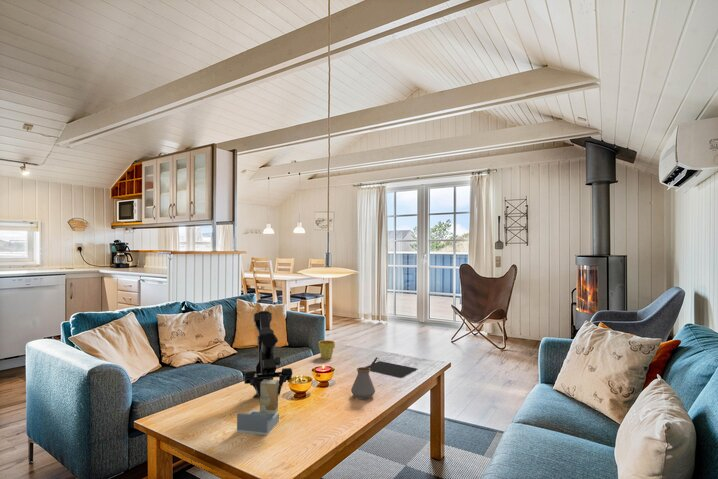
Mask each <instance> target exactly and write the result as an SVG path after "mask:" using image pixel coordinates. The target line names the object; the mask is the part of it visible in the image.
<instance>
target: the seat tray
mask: <svg viewBox="0 0 718 479" xmlns="http://www.w3.org/2000/svg"><path fill="white" fill-rule="evenodd" d="M236 415H237V416H236V433H240V432H242V433H244V434H249V433H250V435H259V436H268V435H269V433H270V432H271V431H272V430H273V429H274V428H275V427H276V425H277V424H279V423H280V422H279V421H280V413H279V412H276V413H275V414H274V415H273V414H260V410H252V409H251V410H250V411H249V412H248V413H246V412H237V414H236ZM274 426H275V427H274ZM242 433H241V434H242Z"/></svg>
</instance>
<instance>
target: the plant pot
mask: <svg viewBox="0 0 718 479" xmlns="http://www.w3.org/2000/svg"><path fill="white" fill-rule="evenodd" d="M335 344H336V343H335V341H333V340H325V339H323V340H319V341H318V348H319V353H320V358H321V359H324V360H326V359H327V360H328V359H329V358H330V359H331V358H333V357H332V356H333V352H334V349H335V347H336V346H335Z"/></svg>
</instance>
